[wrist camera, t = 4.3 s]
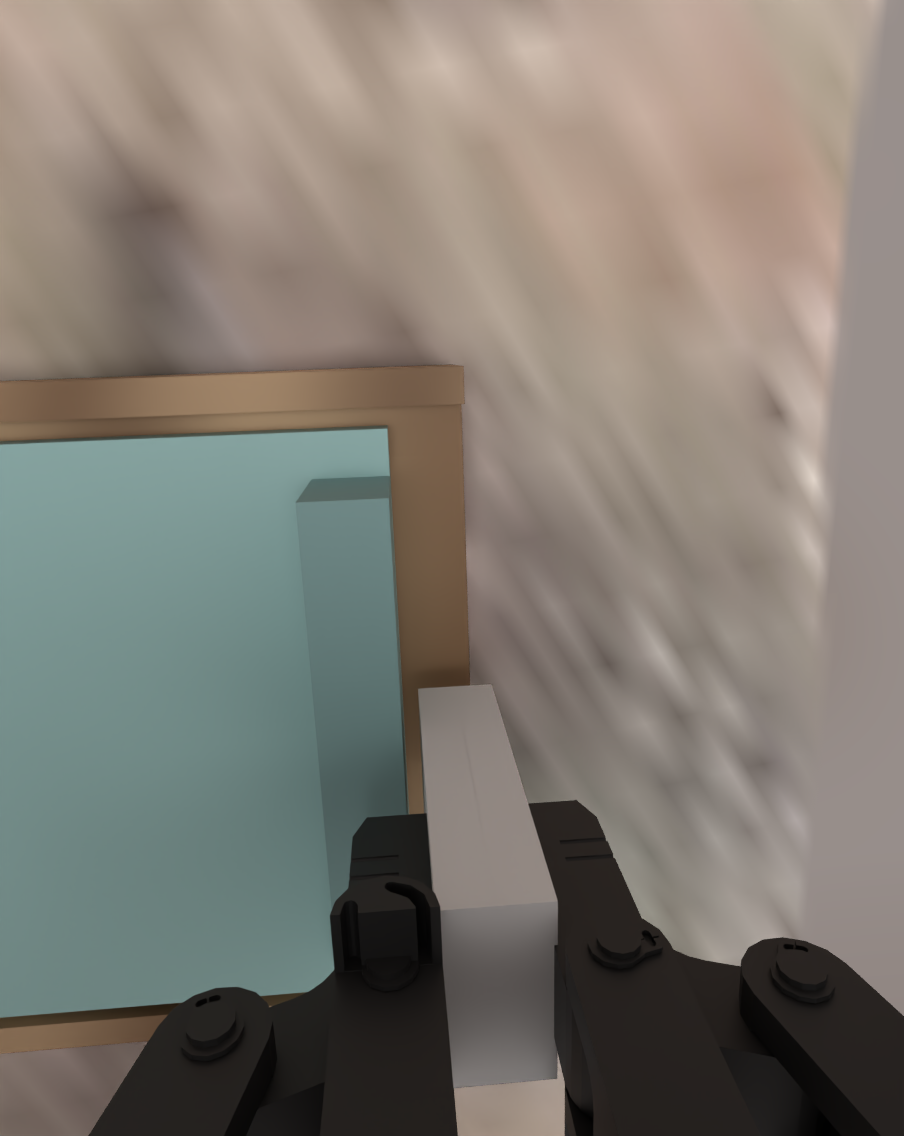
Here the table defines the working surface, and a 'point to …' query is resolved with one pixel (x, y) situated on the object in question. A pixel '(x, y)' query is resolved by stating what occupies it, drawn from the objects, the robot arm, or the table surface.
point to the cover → (190, 708)
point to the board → (420, 522)
